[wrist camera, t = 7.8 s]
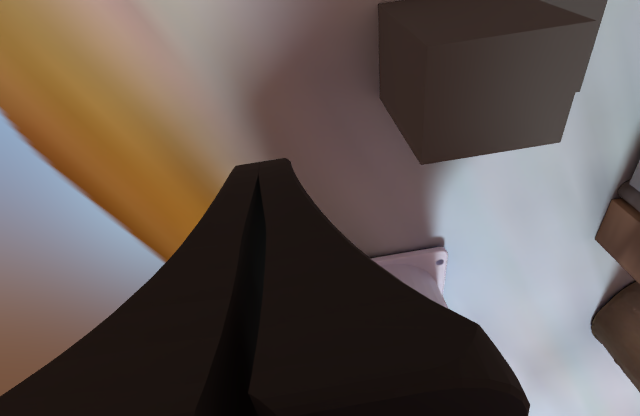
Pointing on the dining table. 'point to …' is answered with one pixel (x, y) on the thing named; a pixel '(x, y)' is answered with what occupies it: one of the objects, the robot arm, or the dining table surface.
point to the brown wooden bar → (623, 230)
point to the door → (636, 178)
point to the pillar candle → (622, 330)
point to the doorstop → (483, 71)
